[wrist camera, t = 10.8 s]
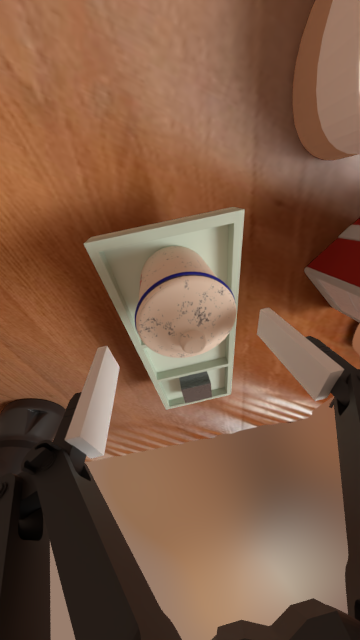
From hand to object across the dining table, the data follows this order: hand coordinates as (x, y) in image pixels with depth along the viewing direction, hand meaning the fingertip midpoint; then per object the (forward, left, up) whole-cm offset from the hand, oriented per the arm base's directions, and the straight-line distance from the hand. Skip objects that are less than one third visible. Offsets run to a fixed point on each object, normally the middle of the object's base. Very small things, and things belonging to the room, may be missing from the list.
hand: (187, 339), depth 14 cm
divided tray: (0, -11, -11) cm, 16 cm away
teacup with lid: (+1, 0, -10) cm, 10 cm away
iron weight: (0, -23, -11) cm, 26 cm away
